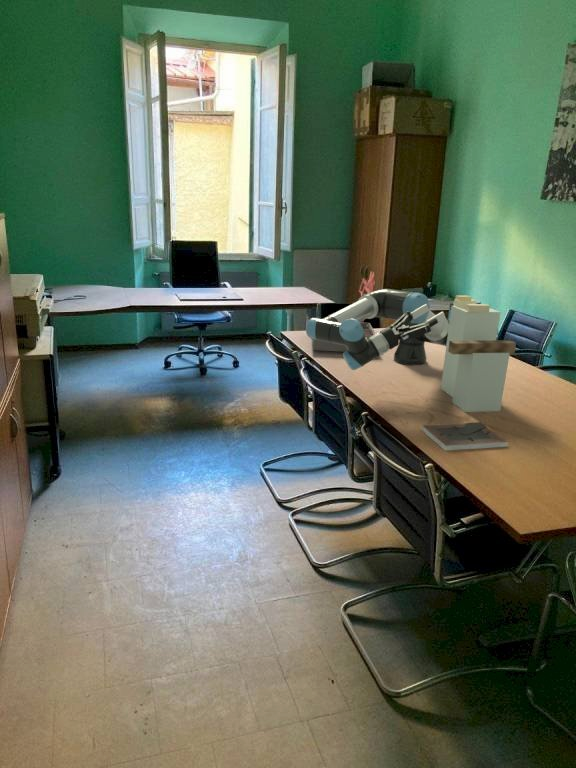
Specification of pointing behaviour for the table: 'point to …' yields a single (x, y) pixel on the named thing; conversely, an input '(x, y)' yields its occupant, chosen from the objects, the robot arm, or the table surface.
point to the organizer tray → (337, 347)
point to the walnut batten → (482, 347)
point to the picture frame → (464, 436)
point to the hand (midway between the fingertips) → (435, 310)
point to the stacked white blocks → (467, 332)
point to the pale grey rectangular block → (480, 381)
